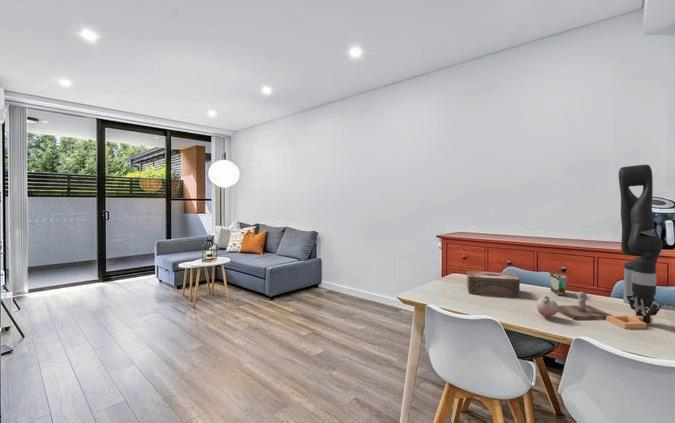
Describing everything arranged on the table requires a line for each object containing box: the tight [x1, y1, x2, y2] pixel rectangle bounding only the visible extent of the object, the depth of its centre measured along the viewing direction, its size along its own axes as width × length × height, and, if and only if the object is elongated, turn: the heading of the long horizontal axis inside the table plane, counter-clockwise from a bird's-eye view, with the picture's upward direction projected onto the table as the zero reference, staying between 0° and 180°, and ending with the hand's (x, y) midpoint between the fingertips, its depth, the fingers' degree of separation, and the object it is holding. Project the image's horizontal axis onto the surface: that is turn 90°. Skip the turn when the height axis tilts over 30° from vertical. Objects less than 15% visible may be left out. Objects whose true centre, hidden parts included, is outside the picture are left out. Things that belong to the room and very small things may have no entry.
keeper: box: [557, 291, 614, 321], centre depth 152 cm, size 18×14×10 cm
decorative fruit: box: [536, 295, 559, 319], centre depth 148 cm, size 9×8×10 cm
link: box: [605, 314, 654, 330], centre depth 140 cm, size 15×9×3 cm, turn 91°
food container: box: [549, 273, 569, 297], centre depth 184 cm, size 12×6×10 cm, turn 168°
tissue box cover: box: [466, 270, 521, 298], centre depth 189 cm, size 26×14×10 cm, turn 72°
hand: (642, 322), depth 140 cm, fingers closed on link, 2 cm apart
